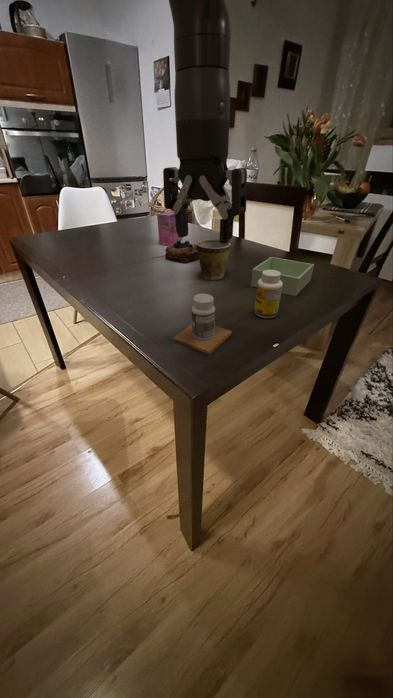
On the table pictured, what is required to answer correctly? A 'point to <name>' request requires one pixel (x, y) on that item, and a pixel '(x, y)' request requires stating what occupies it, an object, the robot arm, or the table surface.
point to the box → (167, 228)
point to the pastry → (182, 252)
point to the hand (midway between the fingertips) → (203, 239)
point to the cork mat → (202, 345)
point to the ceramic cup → (213, 258)
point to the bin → (285, 274)
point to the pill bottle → (203, 316)
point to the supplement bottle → (268, 294)
